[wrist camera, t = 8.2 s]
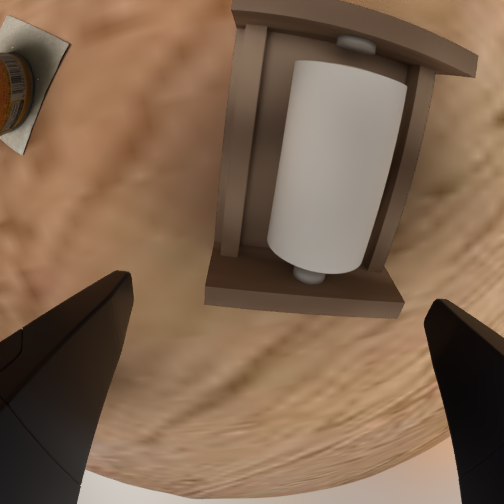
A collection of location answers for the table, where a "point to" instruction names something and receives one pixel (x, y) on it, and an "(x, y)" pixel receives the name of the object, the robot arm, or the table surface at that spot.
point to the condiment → (24, 77)
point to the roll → (333, 164)
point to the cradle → (271, 138)
